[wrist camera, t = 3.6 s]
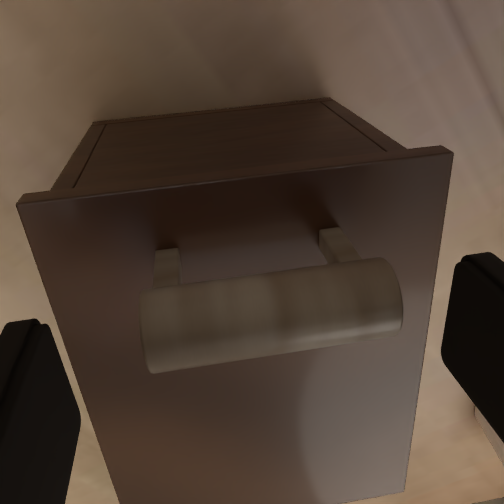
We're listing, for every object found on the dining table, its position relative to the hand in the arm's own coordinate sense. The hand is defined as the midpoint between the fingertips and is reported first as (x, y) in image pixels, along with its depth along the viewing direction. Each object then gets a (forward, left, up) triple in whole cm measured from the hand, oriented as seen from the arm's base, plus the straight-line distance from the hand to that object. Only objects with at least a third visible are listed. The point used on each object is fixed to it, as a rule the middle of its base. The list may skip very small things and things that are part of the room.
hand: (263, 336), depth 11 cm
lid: (+6, 0, -5) cm, 8 cm away
